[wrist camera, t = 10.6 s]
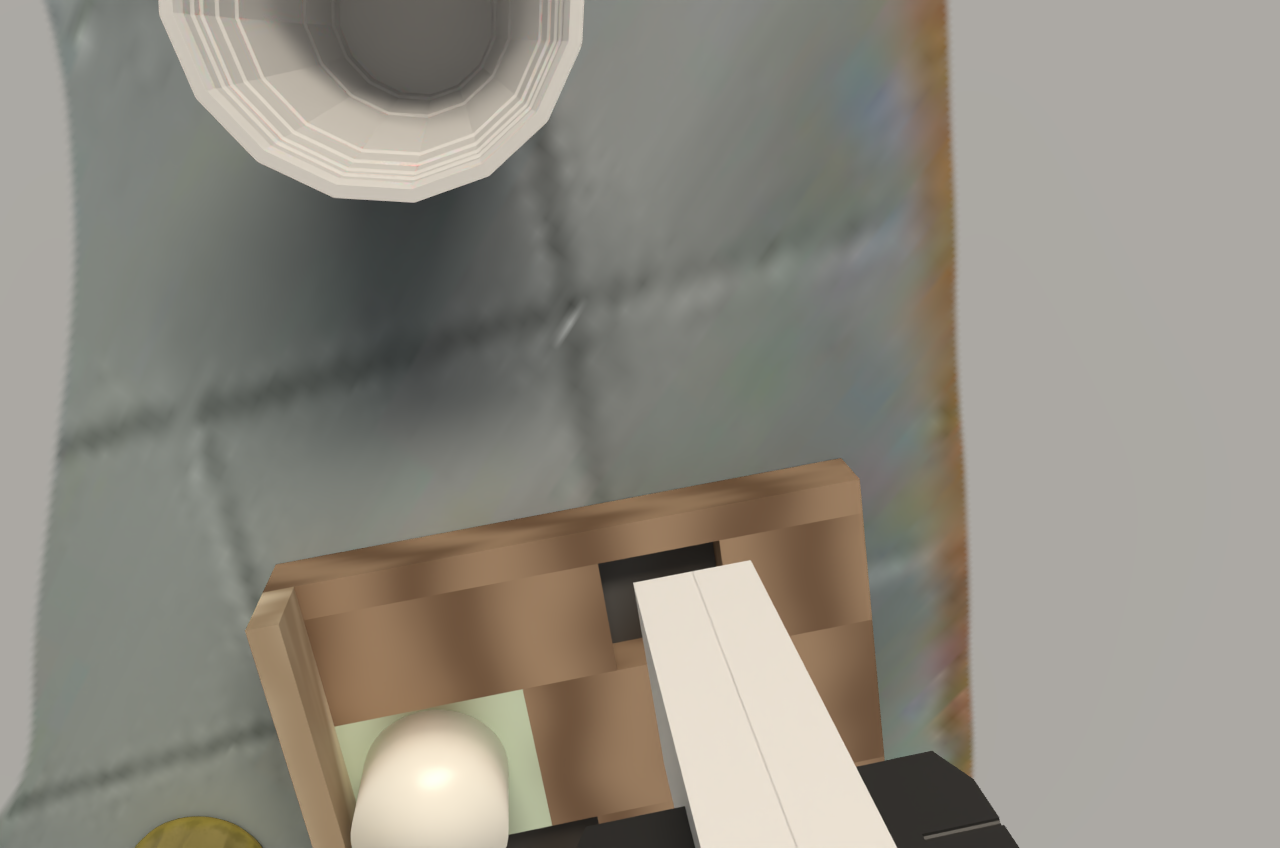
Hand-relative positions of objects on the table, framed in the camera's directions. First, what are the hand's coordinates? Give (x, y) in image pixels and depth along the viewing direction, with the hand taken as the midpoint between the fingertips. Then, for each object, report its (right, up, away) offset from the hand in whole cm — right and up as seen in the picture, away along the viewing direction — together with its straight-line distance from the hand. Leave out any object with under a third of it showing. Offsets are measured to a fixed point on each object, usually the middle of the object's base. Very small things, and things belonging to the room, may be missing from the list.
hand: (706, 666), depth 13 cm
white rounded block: (-9, -12, +31) cm, 35 cm away
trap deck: (-3, -10, +34) cm, 36 cm away
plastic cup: (-9, +18, +24) cm, 32 cm away
